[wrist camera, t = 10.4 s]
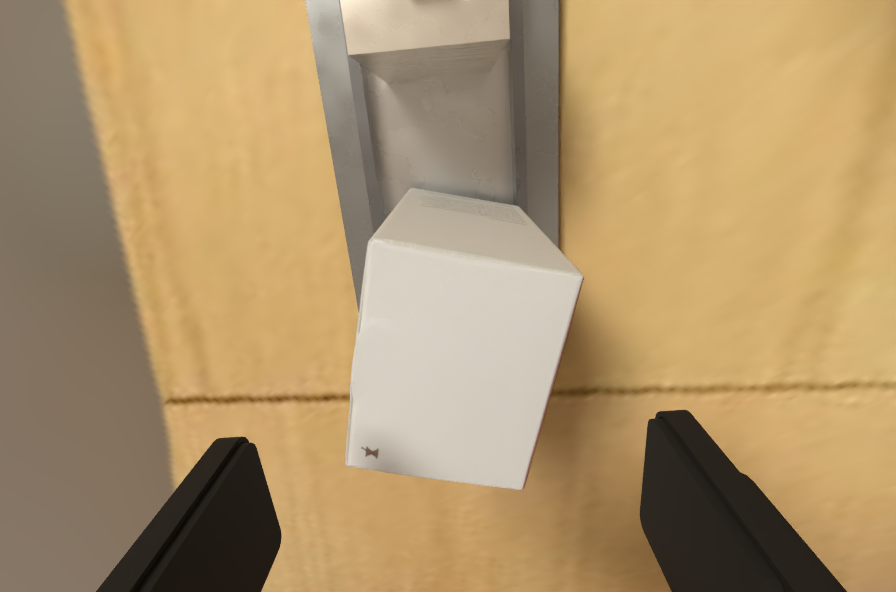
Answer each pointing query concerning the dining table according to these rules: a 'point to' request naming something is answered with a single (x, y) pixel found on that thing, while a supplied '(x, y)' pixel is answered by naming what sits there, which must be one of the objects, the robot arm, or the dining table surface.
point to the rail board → (438, 105)
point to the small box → (457, 341)
